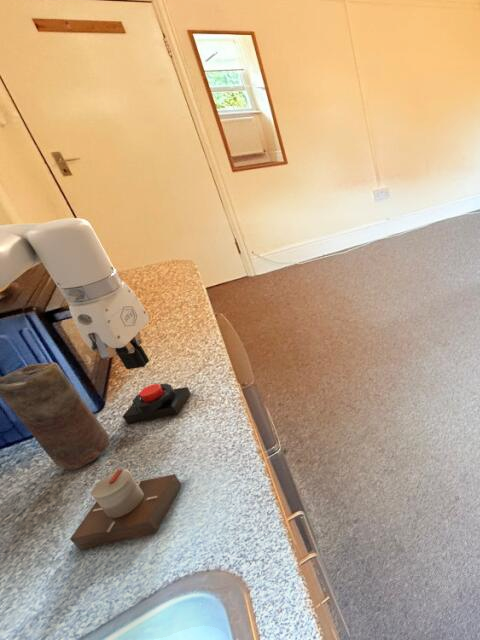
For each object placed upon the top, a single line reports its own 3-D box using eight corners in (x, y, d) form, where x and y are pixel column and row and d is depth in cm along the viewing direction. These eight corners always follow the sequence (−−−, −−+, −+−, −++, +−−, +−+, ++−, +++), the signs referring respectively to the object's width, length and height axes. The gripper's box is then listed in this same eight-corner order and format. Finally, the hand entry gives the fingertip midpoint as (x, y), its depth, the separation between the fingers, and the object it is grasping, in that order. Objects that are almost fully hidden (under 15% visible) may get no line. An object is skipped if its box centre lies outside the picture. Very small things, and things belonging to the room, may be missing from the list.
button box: (126, 424, 80) (117, 410, 78) (144, 401, 86) (136, 388, 84) (177, 415, 82) (169, 401, 80) (191, 393, 88) (184, 380, 86)
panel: (78, 552, 59) (67, 540, 58) (114, 497, 66) (106, 485, 65) (155, 534, 61) (146, 522, 60) (182, 483, 69) (175, 471, 67)
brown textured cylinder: (49, 462, 73) (-17, 380, 64) (99, 431, 79) (45, 353, 70) (71, 477, 70) (5, 393, 61) (120, 444, 76) (67, 363, 67)
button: (139, 403, 81) (135, 397, 80) (148, 391, 84) (145, 385, 83) (158, 400, 81) (154, 394, 80) (167, 388, 84) (163, 382, 83)
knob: (133, 514, 61) (117, 492, 59) (100, 521, 60) (82, 499, 58) (150, 487, 65) (136, 466, 62) (119, 493, 64) (103, 472, 62)
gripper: (88, 305, 65) (138, 388, 73) (140, 265, 78) (178, 339, 86) (33, 313, 64) (90, 396, 72) (96, 270, 77) (138, 345, 85)
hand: (138, 365), depth 79 cm, fingers closed
